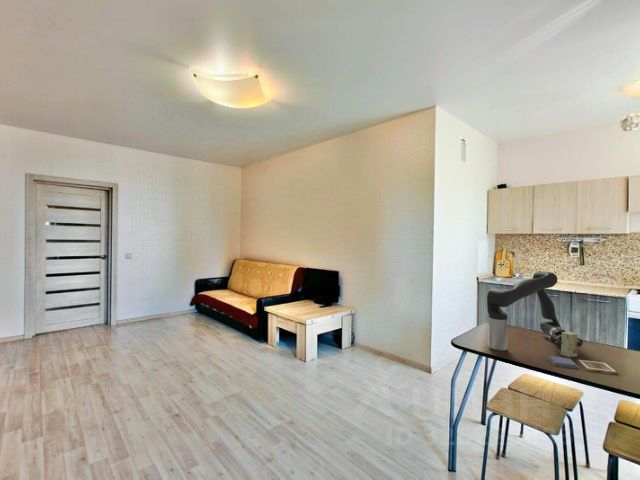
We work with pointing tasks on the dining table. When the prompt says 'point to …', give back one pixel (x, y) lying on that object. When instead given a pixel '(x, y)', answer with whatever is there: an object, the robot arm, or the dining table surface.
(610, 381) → the dining table surface
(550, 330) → the robot arm
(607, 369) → the marked board
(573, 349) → the skincare box
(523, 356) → the dining table surface
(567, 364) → the ink pad
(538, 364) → the dining table surface
